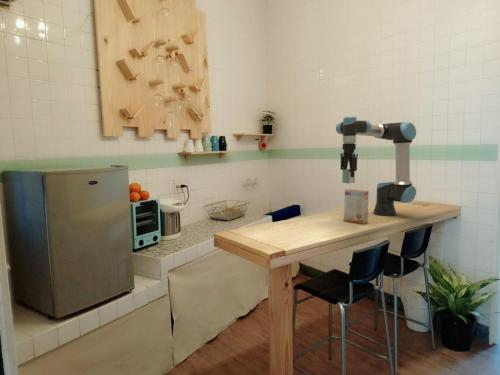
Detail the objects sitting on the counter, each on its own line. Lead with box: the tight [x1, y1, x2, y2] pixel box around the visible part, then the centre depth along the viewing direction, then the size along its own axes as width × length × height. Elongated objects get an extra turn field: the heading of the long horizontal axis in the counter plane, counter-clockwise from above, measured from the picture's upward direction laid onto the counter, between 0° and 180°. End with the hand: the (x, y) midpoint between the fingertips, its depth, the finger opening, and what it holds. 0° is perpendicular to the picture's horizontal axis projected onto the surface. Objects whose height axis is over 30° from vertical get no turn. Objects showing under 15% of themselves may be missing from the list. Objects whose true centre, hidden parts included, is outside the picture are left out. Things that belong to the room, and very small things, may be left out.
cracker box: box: [343, 188, 370, 225], centre depth 217 cm, size 14×6×21 cm, turn 41°
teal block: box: [341, 168, 356, 184], centre depth 201 cm, size 5×5×8 cm
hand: (348, 182), depth 201 cm, fingers closed on teal block, 5 cm apart
